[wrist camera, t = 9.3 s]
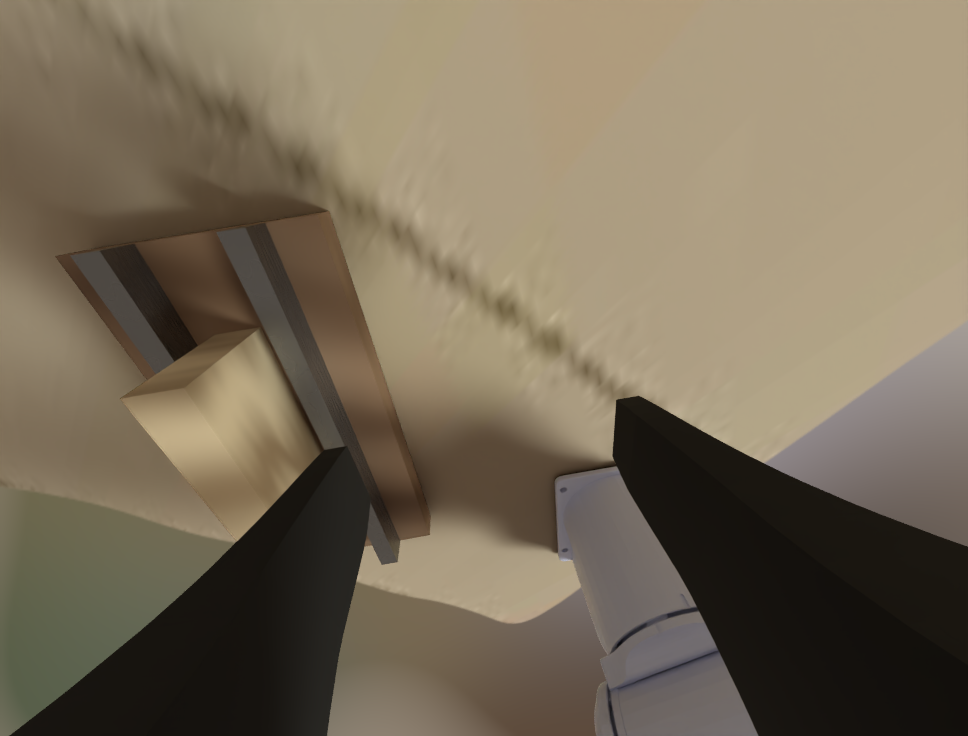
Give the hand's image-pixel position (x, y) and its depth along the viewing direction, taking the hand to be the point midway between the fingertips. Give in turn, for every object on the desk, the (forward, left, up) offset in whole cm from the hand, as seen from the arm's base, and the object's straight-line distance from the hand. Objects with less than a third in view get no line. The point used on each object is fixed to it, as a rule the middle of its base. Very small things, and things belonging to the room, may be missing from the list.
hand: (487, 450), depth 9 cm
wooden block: (-3, +10, -8) cm, 13 cm away
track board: (-4, +10, -9) cm, 14 cm away
